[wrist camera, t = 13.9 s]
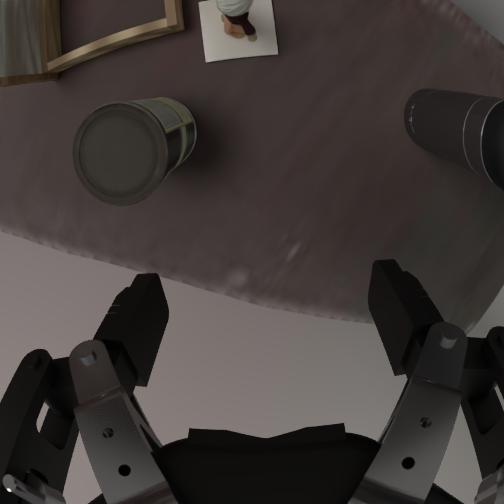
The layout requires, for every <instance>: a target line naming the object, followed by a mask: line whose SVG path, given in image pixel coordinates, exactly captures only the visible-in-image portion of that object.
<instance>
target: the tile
mask: <svg viewBox="0 0 504 504" xmlns="http://www.w3.org/2000/svg"><path fill="white" fill-rule="evenodd" d="M199 9H200V18H201V26H202V35H203V43H204V51H205V59H206V63H209V62H215V61H222V60H229V59H237V58H246V57H256V56H268V55H278V48H277V40H276V32H275V24H274V17H273V9H272V2H271V0H253V3H252V6H251V7H250V10H249V15H248V20H249V22H250V23H251V24H252V25H253V26H254V28H255V30H256V35H257V40H256V41H255V42H250V41H249V40H248V37H247V36H244V37H243V38H240V39H238V38H235V37H233V35H232V34H230V35H227V34H226V33H225V32H224V22H223V21H222V19H221V15H222V12H220V11H219V9H218V8H217V3H216V0H209V1H204V2H199Z"/></svg>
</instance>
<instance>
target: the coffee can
mask: <svg viewBox="0 0 504 504" xmlns="http://www.w3.org/2000/svg"><path fill="white" fill-rule="evenodd" d="M196 135H197V130H196V124H195V120H194V118H193V116H192V114H191V113H190V111H189V110H188V109H187V108H186V107H185V106H184V105H183V104H181V103H180V102H178V101H176V100H174V99H170V98H154V99H143V100H133V101H113V102H108V103H105V104H102V105H100V106H98V107H96V108H95V109H93V110H92V111H91V112H90V113H89V114H88V115H87V116H86V117H85V118H84V119H83V121H82V122H81V124H80V125H79V127H78V129H77V132H76V135H75V138H74V142H73V153H72V155H73V163H74V168H75V171H76V173H77V176H78V178H79V180H80V181H81V183H82V185H83V186H84V187H85V189H86V190H87V191H88V192H89V193H90V194H91V195H93V196H94V197H95V198H97V199H99V200H100V201H102V202H105V203H108V204H111V205H116V206H126V205H131V204H135V203H137V202H140V201H142V200H144V199H145V198H147V197H148V196H149V195H150V194H152V193H153V192H154V191H155V189H156V188H157V187H158V186H159V184H160V183H161V182H162V181H163V180H164V179H165V178H166V177H167V176H168V175H169V174H170V173H171V172H172V171H173V170H174V169H175V168H176V167H177V166H178V165H179V164H180V163H182V162H183V161H184V160H185V159H186V158H187V157H188V156H189V155H190V153H191V152H192V150H193V148H194V145H195V142H196Z"/></svg>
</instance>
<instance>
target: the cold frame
mask: <svg viewBox="0 0 504 504" xmlns="http://www.w3.org/2000/svg"><path fill="white" fill-rule="evenodd" d="M165 10H166V18H165V19H161V20H158V21H154V22H150V23H147V24H143V25H140V26H137V27H134V28H130V29H127V30H124V31H121V32H119V33H116V34H113V35H110V36H107V37H105V38H102V39H100V40H97V41H95V42H92V43H90V44H87V45H85V46H83V47H80V48H78V49H76V50H74V51H71V52H69V53H67V54H65V55H63V56H62V47H61V31H60V0H0V87H5V86H11V85H18V84H26V83H35V82H46V81H55V80H57V79H59V75H58V73H59V72H61V71H63V70H65V69H68V68H70V67H72V66H74V65H77V64H79V63H81V62H84V61H86V60H89V59H91V58H94V57H96V56H99V55H102V54H104V53H107V52H110V51H113V50H115V49H118V48H121V47H124V46H128V45H131V44H134V43H137V42H141V41H144V40H147V39H151V38H155V37H159V36H162V35H167V34H171V33H175V32H179V31H184V30H185V28H184V19H183V10H182V0H165Z"/></svg>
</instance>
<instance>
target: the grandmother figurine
mask: <svg viewBox="0 0 504 504" xmlns="http://www.w3.org/2000/svg"><path fill="white" fill-rule="evenodd" d="M216 3H217V8H218V9H219V11H220V12H222V15H221V19H222V21H223V22H224V32H225V33H226V34H227V35H230V34H232V35H233V37H235V38H238V39H240V38H243V37H244V36H247V37H248V40H249V41H250V42H255V41H256V40H257V35H256V30H255V28H254V26H253V25H252V24H251V23H250V22H249V20H248V15H249V10H250V7H251V6H252V3H253V0H216Z"/></svg>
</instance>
